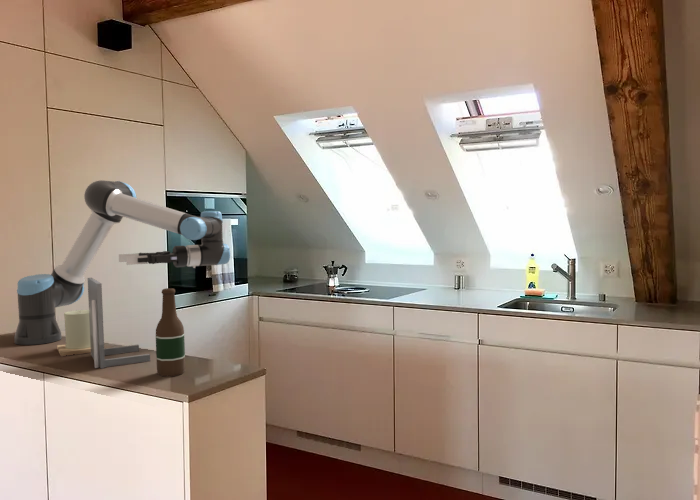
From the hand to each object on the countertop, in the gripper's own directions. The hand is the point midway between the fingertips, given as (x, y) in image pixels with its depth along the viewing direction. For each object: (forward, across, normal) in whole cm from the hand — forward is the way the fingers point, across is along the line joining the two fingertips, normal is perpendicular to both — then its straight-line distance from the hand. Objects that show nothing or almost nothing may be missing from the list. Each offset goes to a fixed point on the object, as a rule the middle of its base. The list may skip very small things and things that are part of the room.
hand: (122, 259), depth 208 cm
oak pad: (+14, +5, -30) cm, 33 cm away
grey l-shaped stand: (+5, -16, -30) cm, 34 cm away
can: (+14, +5, -29) cm, 32 cm away
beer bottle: (-4, -43, -30) cm, 53 cm away
